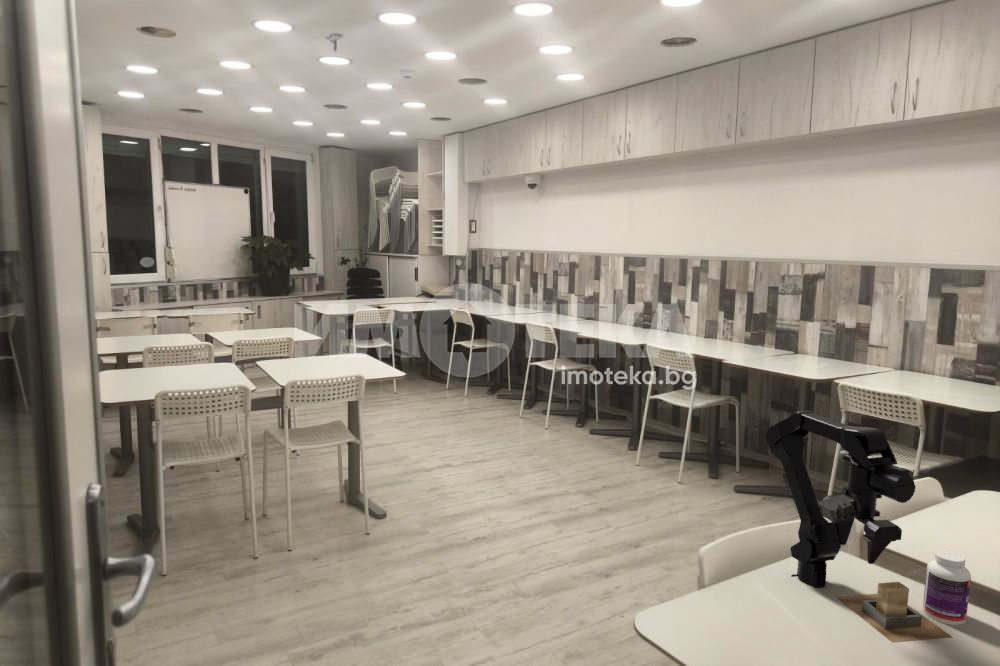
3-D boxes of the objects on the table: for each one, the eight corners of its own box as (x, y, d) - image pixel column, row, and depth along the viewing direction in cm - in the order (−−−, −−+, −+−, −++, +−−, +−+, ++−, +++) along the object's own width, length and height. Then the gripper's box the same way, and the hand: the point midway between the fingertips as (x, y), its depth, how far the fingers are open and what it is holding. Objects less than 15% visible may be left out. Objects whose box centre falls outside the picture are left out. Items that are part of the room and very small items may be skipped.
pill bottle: (972, 630, 146) (980, 566, 144) (930, 625, 148) (937, 562, 146) (955, 610, 154) (962, 549, 152) (916, 606, 155) (922, 545, 153)
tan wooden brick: (875, 613, 149) (878, 583, 148) (895, 611, 150) (898, 581, 149) (885, 621, 146) (888, 590, 146) (905, 619, 147) (909, 588, 146)
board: (835, 599, 157) (835, 596, 157) (890, 595, 160) (890, 592, 160) (891, 645, 140) (892, 642, 140) (952, 640, 142) (953, 637, 142)
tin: (861, 610, 151) (862, 600, 151) (895, 608, 153) (896, 598, 152) (885, 629, 144) (886, 619, 144) (920, 626, 146) (922, 616, 145)
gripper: (803, 472, 158) (798, 537, 160) (857, 503, 139) (851, 576, 141) (847, 470, 159) (841, 535, 161) (907, 501, 141) (899, 573, 143)
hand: (856, 553), depth 152 cm, fingers open, 9 cm apart
